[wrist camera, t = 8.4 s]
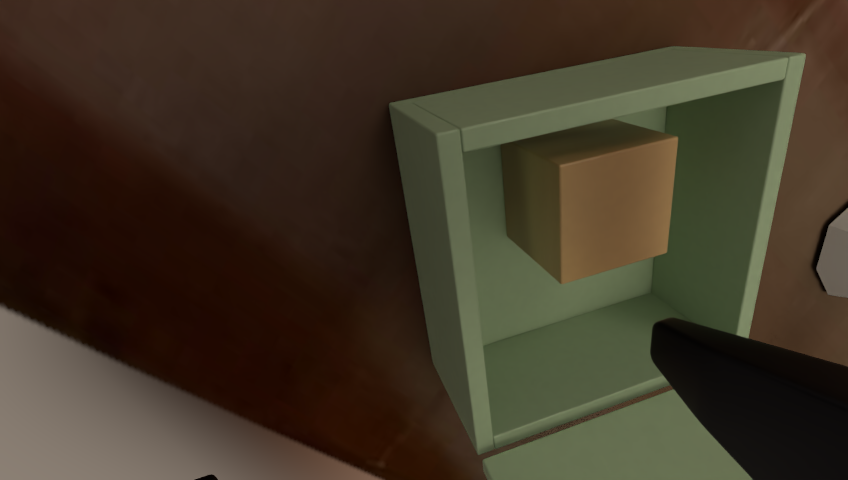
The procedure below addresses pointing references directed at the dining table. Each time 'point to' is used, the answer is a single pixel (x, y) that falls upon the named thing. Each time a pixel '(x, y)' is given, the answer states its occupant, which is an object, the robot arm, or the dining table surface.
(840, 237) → the flask
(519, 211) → the block
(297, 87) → the dining table surface
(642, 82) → the file box
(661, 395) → the lid
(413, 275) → the dining table surface
